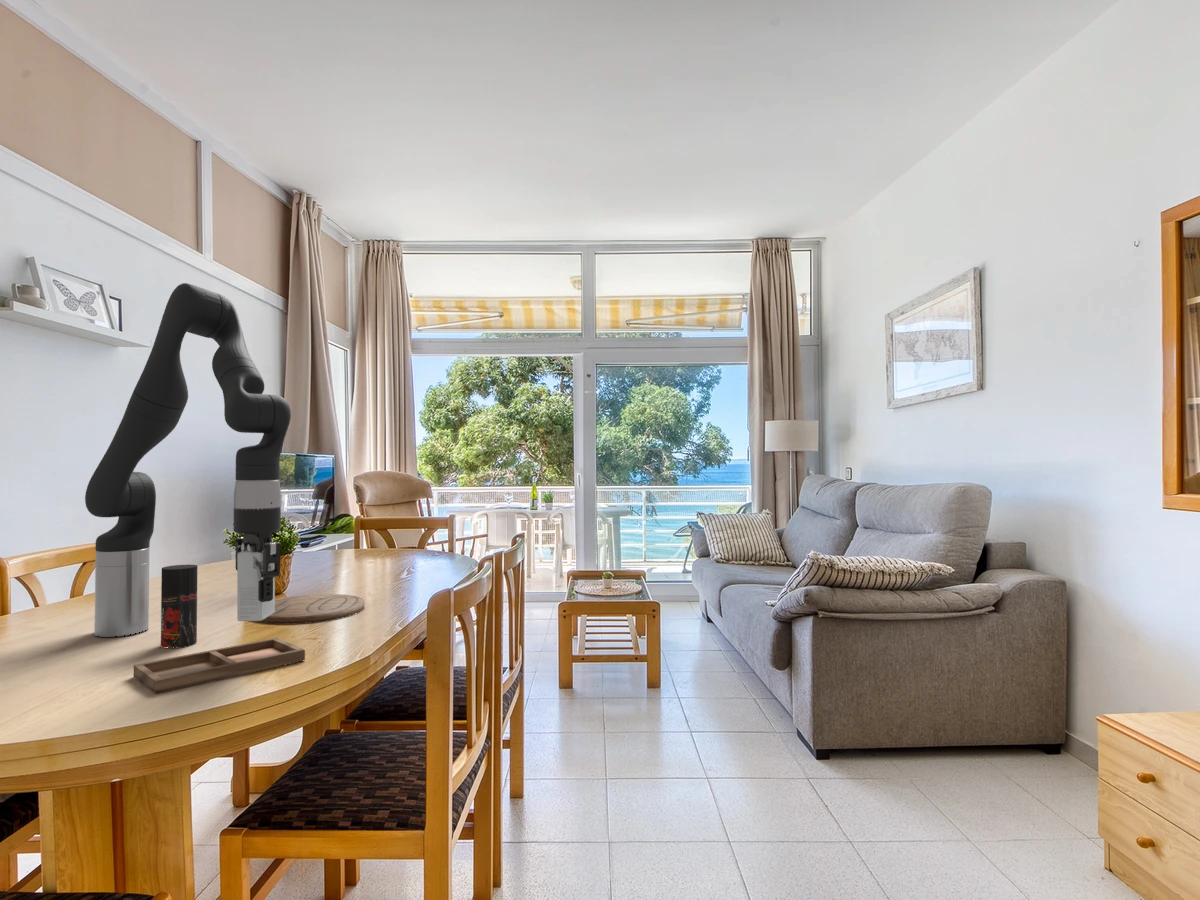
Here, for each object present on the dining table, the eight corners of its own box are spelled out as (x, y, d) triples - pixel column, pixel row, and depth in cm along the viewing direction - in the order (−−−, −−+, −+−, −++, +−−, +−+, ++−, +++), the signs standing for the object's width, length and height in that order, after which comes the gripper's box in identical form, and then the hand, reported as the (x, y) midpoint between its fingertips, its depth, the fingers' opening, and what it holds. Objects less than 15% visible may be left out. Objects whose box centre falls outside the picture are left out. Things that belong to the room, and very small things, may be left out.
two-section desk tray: (133, 677, 111) (133, 664, 111) (276, 648, 128) (276, 637, 128) (155, 694, 103) (155, 680, 103) (304, 660, 120) (304, 649, 120)
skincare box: (251, 613, 123) (251, 547, 123) (275, 613, 123) (275, 547, 123) (235, 621, 117) (236, 552, 117) (261, 621, 117) (262, 552, 117)
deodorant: (203, 642, 133) (204, 565, 133) (173, 649, 127) (174, 570, 128) (184, 638, 135) (184, 563, 135) (153, 646, 130) (154, 568, 130)
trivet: (234, 627, 146) (234, 619, 146) (267, 603, 170) (267, 596, 170) (356, 622, 150) (356, 613, 151) (371, 599, 175) (371, 592, 175)
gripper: (296, 506, 118) (295, 600, 118) (262, 502, 128) (262, 590, 128) (251, 508, 113) (250, 607, 113) (219, 504, 122) (219, 596, 122)
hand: (256, 598), depth 120 cm, fingers closed on skincare box, 7 cm apart
